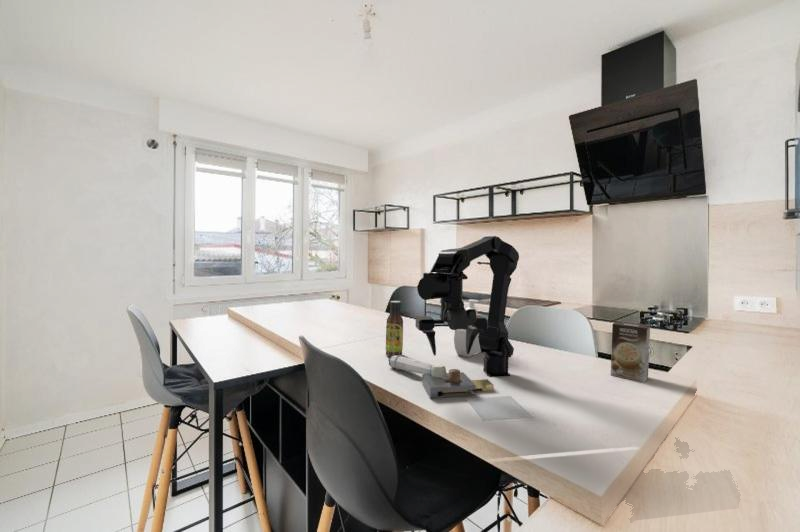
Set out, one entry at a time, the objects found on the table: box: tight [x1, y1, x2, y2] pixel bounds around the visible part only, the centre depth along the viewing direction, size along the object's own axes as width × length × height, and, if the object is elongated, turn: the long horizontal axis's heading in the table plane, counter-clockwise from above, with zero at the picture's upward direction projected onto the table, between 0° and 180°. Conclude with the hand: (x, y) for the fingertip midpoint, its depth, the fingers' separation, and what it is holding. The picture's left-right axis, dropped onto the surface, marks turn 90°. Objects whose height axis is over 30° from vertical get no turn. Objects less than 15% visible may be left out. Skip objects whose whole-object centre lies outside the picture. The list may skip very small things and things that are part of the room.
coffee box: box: [610, 320, 651, 383], centre depth 109 cm, size 9×6×16 cm
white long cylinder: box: [388, 354, 449, 383], centre depth 108 cm, size 5×7×25 cm
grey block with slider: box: [421, 371, 494, 400], centre depth 97 cm, size 18×10×3 cm, turn 98°
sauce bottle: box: [385, 300, 404, 358], centre depth 131 cm, size 6×6×20 cm
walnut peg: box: [448, 368, 461, 383], centre depth 96 cm, size 3×3×6 cm
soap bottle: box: [453, 299, 483, 358], centre depth 134 cm, size 16×5×20 cm, turn 137°
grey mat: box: [465, 395, 534, 422], centre depth 86 cm, size 12×12×1 cm
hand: (451, 354), depth 96 cm, fingers open, 9 cm apart
